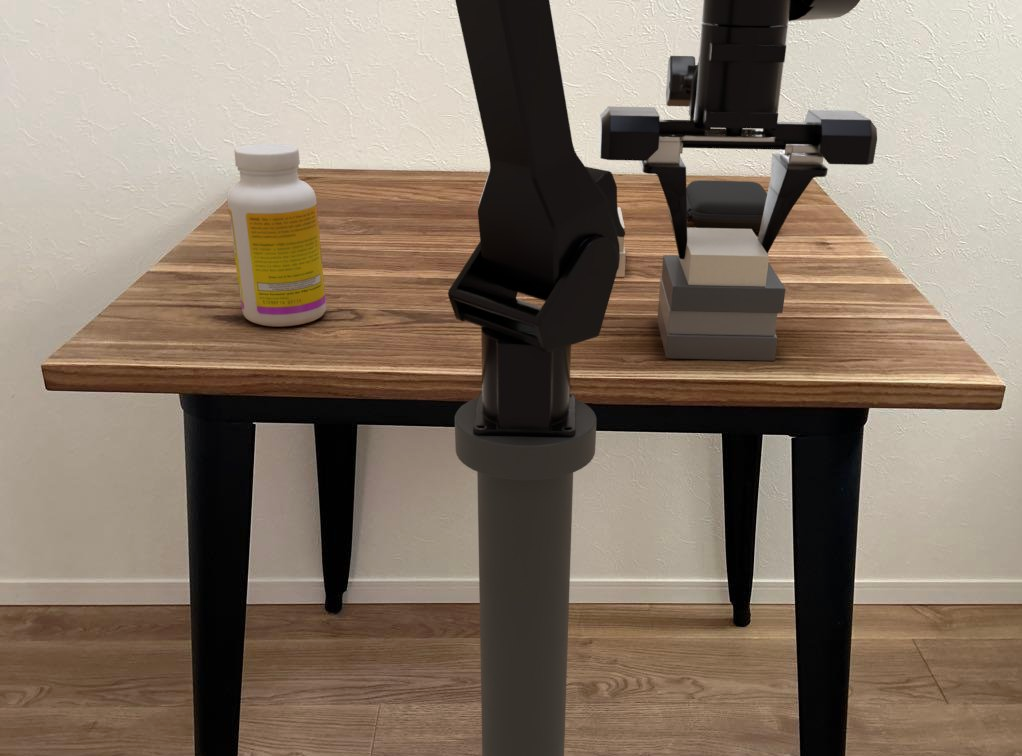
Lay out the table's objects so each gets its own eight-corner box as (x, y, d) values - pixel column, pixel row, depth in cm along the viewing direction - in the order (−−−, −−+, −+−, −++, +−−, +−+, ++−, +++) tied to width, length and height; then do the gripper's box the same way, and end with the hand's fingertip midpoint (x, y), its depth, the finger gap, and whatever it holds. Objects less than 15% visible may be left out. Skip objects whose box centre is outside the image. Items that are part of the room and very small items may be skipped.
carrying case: (670, 203, 123) (678, 234, 110) (672, 176, 122) (680, 204, 109) (762, 205, 123) (780, 236, 110) (765, 178, 121) (784, 206, 108)
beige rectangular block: (765, 287, 75) (769, 256, 74) (688, 285, 75) (690, 254, 74) (748, 257, 82) (751, 228, 81) (677, 256, 82) (680, 227, 81)
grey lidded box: (776, 361, 77) (785, 288, 75) (666, 358, 77) (671, 286, 75) (757, 324, 85) (765, 256, 82) (657, 322, 85) (661, 254, 82)
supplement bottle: (343, 316, 85) (330, 148, 79) (274, 335, 81) (254, 159, 74) (294, 298, 89) (277, 137, 83) (226, 315, 85) (202, 147, 78)
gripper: (856, 18, 77) (824, 234, 85) (601, 14, 77) (592, 230, 85) (897, 30, 67) (857, 272, 75) (606, 25, 68) (596, 267, 75)
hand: (721, 258), depth 78 cm, fingers closed on beige rectangular block, 5 cm apart
